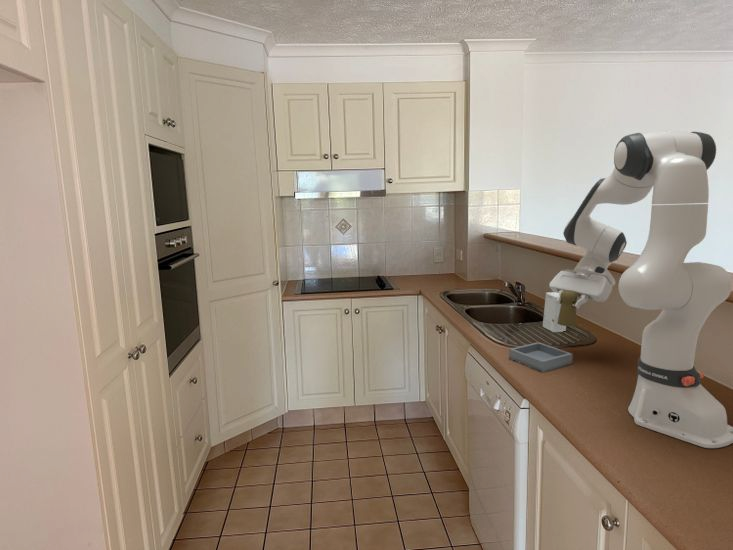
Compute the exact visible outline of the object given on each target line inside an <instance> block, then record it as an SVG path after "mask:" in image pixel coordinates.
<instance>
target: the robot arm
mask: <svg viewBox="0 0 733 550" xmlns="http://www.w3.org/2000/svg"><path fill="white" fill-rule="evenodd" d="M613 154H614V155H613V164H614V168H613V170H612V172H611V174H610V175H609V176H607V177H604V178H600V179H598V181H596V182H595V184H594V185H593V186H592V187H591V189H590V190H589V192H588V193H587V195H586V196H585V198H584V199H583V201H582V202H581V204H580V205H579V207H578V208H577V210H576V212H575V213H574V215H572V217H571V218H570V219H569V220H568V222H567V223H566V225H565V227H564V230H563V232H562V233H563V237H564V240H565V242H566V243H568V244H570V245H573V246H575V247H579V248H581V249H583V250H585V251H586V253H585V255H584V256H582V257H581V258H580V260H579V262H577V264H576V266H575V268H574V269H567V268H565V269H564V270H563V269H562V270H560V272H558V273H557V274H555V276H553V279H552V280H550V282H549V284H548V285H549V286H548V287H549V288H550V290H551V292H556V293H559V298H558V299H557V301H556V302H557V303H558V304H561V302H562V300H561V298H560V294H561V293H562V292H563V291H574V292H576V293H577V296H578V297H577V298H579V299H577V300H576V301H574V303H573V305H572V306H573V307H574V308H576V309H579V308H581V306H582V305H584V304H586V303H587V302H588V301H595V302H599V303H603V302H605V301H607V300H608V298H609V297H610V295H611V293H612V292H613V291H612V290H613V287H614V286H615V285H616V279H615V278H614V276H613V275H612V273H611V272H610V270H608V268H609V266H611V264H613V263H614V262H616V261H618V259H619V258H620V256H621V254H622V253H623V252H624V250H625V249H626V246H627V243H628V242H627V238H626V235H625V234H624V232H623V231H621V230H619V229H617V228H614V227H612V226H610V225H607V224H604V223H601V222H600V221H597V220H595V219H593V218H592V217H591V214H592V213H593V211H594V209H595V208H596V207H597V205H599V204H600V205H601V204H602V205H603V204H613V205H621V206H622V205H623V206H624V205H632V204H635V203H638V202H641V201H642V200H644V199H645V198H646V197H647V196H648V195H649V193H650V192H651V190H652V196H651V197H652V198H651V212H650V223H649V231H648V237H647V240H646V244H645V246H644V248H643V250H642V252H641V253H640V255H639V256H638V258H637V259H636V260H635V262H634V263H632V265H630V266H629V267H628V268H626V270H624V272H622V274H621V276H620V278H619V281H618V293H619V295H620V298H621V299H622V301H623V302H624V304H626V305H627V306H628V307H630V308H635V309H636V308H637V309H640V310H646V311H648V310H649V311H653V310H654V311H655V310H657V311H658V310H661V312H660V313H659V315H658V316H657V317H656V318H655V319H654V320H652V321H651V322H649V323H648V324H647V325H646V326H645V327H644V328H643V330H642V336H641V345H640V346H641V347H640V357H638V359H637V369H636V376H637V379H636V380H637V381H636V386H635V390H634V393H633V396H632V399H631V402H630V404H629V405H628V407H627V408H628V409H627V410H628V412H629V414H630V415H631V416H632V417H633V420H634V424H636V425H637V426H640V427H643V428H646V429H648V430H651V431H655V432H658V433H660V434H664V435H666V436H669V437H672V438H675V439H677V440H679V441H683V442H686V443H690V444H693V445H694V446H699V447H701V448H705V449H719V448H724V447H727V446H729V445H731V444H733V426H732V425H729V424H728V415H727V411H726V408H725V407H724V405H723V404H722V403H721V402H720V401H718V400H717V398H715V397H714V396H713V395H712V394H711V393H710V392H709V391H708V390H707V389H706V388H705V387H704V386H703V385H702V384H701V379H702V378H704V377H705V374H706V373H705V372H704V371H703V372H701V373H699V372H698V371H697V369H696V367H695V365H694V364H695V363H694V362H695V356H696V349H697V341H698V338H699V335H700V332H701V330H702V329H703V326H704V324H705V322H706V321H707V319H708V317H709V316H710V315H711V313H712V312H713V311H714V310H715V309H716V308H717V307H718V306H719V305H721V304H722V303H724V302H725V301H726V300H727V299H728V298H729V297H730V295H731V292H732V289H733V282H732V278H731V275H730V273H729V272H728V271H727V270H726V269H725V268H724V267H722V266H720V265H716V264H712V263H706V262H701V261H699V262H698V261H695V262H694V261H693V262H690V261H689V262H685V260H686V258H687V255H688V254H689V253H690V252H691V250H692V249H693V248H694V247H696V246H697V245H699V244H700V243H701V242H703V240H704V239H705V238H706V236H707V235H706V234H707V227H708V226H707V225H708V213H709V212H708V211H709V194H710V193H709V190H710V189H709V179H708V170H709V169H710V167H711V166H712V165H713V163H714V162H715V159H716V155H717V145H716V142H715V139H714V138H713V136H711V135H710V134H708V133H705V132H701V131H690V132H688V131H668V130H660V131H659V130H658V131H651V132H649V131H648V132H644V133H641V132H636V133H635V132H634V133H631V134H627V135H624V136H623V137H621V139H620V140H619V141H618V142H617V144H616V146H615V150H614V153H613Z"/></svg>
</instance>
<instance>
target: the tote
mask: <svg viewBox="0 0 733 550" xmlns="http://www.w3.org/2000/svg"><path fill="white" fill-rule="evenodd" d="M508 351H509V354H508V359H509V358H510V359H509V360H511V359H512V360H511V361H513V360H515V361H514V362H516V361H518V362H520V363H522V364H521V365H523V364H525V365H527V366H526V367H528V366H530V367H532V368H531V369H533V368H534V369H533V370H535V369H536V370H535V371H537V370H539V371H538V372H540V371H541V372H540V373H545V372H549V371H552V370H555V369H560V368H562V367H566V366H570V365H572V364H573V357H574V356H573V353H571V352H570V351H569V352H568V351H566V350H562V349H559V348H557V347H553V346H552V345H548V344H545V343H542V342H539V341H538V342H534V343H530V344H524V345H521V346H517V347H512V348H509V350H508ZM518 362H517V363H518ZM520 363H519V364H520ZM525 365H524V366H525ZM530 367H529V368H530Z"/></svg>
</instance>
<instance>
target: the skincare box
mask: <svg viewBox="0 0 733 550" xmlns="http://www.w3.org/2000/svg"><path fill="white" fill-rule="evenodd" d="M558 298H559V293H556V292H553V291H551V292H545V301H544V309H543V310H544V311H543V320H542V328H544V329H547V330H548V331H550V332H552V333H564V332H563V331H566V332H567V326H563V325H559V324H558V323H557V322H558V317H559V312H560V307H561V304H558V303H557V302H556V301H557V299H558Z"/></svg>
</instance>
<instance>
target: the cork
mask: <svg viewBox="0 0 733 550" xmlns="http://www.w3.org/2000/svg"><path fill="white" fill-rule="evenodd" d="M560 298H561V300H562V302H561V307H560V312H559V317H558V322H557V323H558V324H559V325H563V326H566V327H576V326H578V317H577V308H574V307H573V306H572V305H573V303H574V301H578V298H579V297H578V296H577V293H576V292H574V291H563V292H562V293H561V294H560Z"/></svg>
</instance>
